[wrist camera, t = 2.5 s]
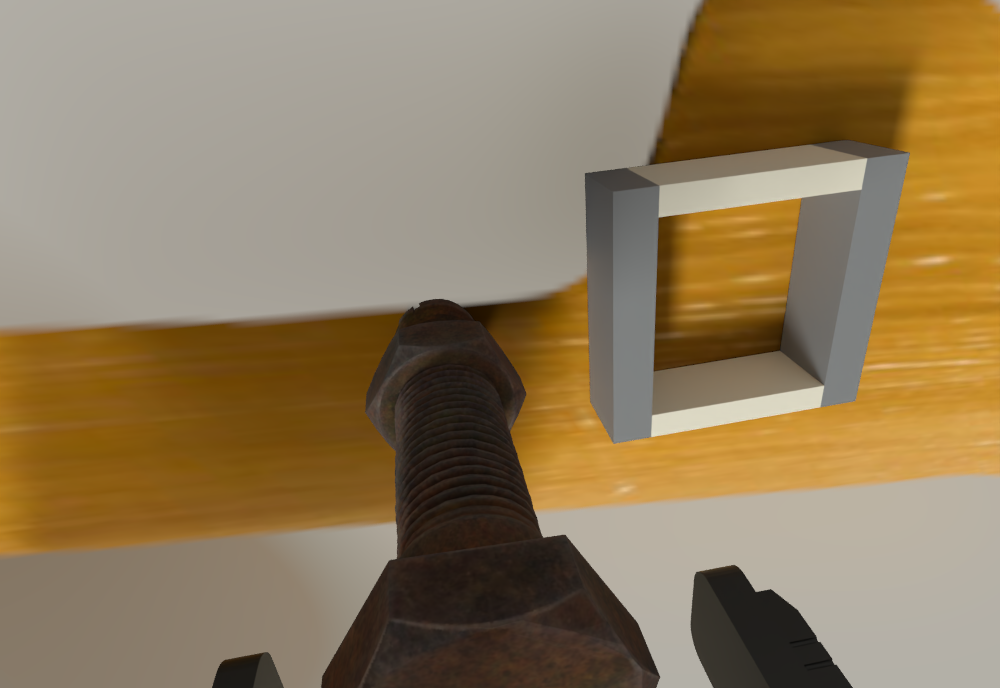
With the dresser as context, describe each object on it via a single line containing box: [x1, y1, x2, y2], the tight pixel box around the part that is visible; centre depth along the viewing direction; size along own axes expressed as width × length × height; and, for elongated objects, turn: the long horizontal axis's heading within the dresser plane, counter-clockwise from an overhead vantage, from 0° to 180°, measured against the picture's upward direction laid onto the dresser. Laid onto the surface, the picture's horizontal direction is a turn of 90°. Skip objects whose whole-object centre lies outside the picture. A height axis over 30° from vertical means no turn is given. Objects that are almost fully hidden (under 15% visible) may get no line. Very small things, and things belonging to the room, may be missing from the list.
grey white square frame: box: [585, 140, 910, 444], centre depth 22 cm, size 10×10×3 cm
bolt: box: [321, 299, 660, 688], centre depth 16 cm, size 6×5×15 cm
